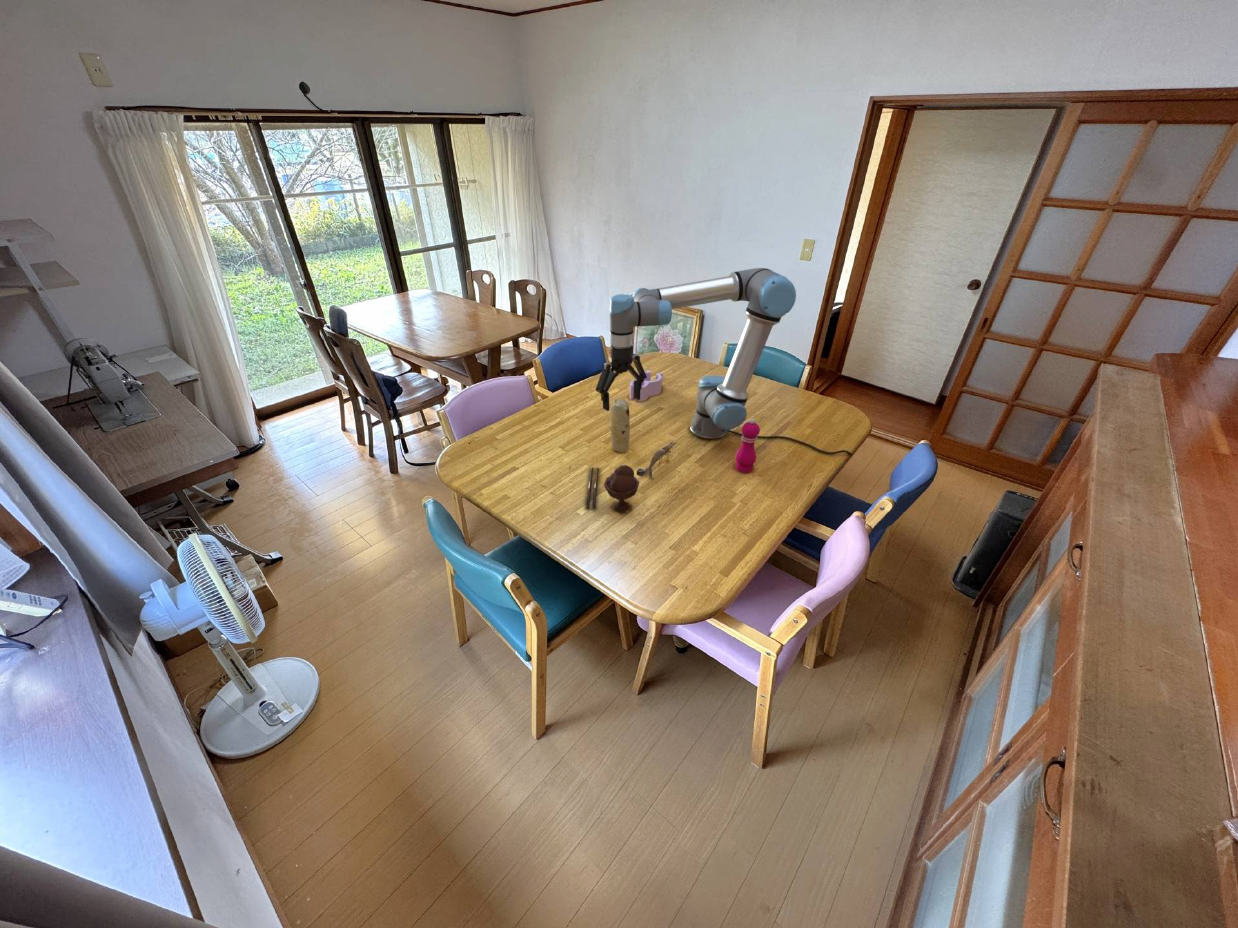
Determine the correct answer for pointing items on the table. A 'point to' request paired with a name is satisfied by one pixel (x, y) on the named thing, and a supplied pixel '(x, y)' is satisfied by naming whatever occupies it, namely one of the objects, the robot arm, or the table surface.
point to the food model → (620, 425)
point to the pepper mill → (747, 447)
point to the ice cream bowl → (622, 487)
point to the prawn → (656, 459)
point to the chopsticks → (594, 488)
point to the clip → (648, 386)
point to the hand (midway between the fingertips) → (621, 404)
